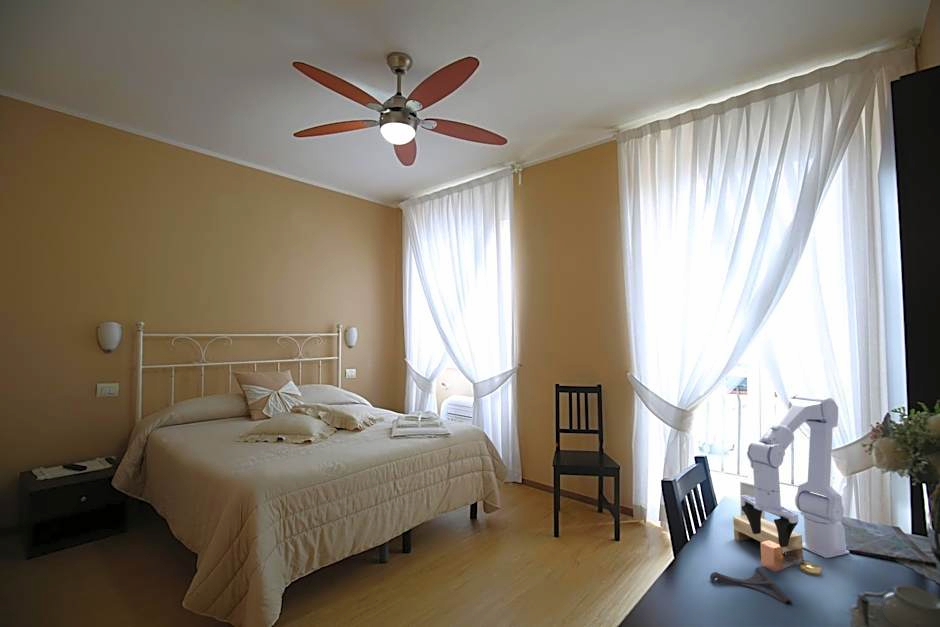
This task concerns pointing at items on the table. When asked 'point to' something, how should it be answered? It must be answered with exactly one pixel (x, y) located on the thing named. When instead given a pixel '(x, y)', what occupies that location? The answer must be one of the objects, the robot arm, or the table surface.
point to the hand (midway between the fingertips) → (769, 539)
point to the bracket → (754, 584)
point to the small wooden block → (776, 556)
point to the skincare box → (748, 493)
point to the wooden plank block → (767, 535)
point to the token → (810, 568)
